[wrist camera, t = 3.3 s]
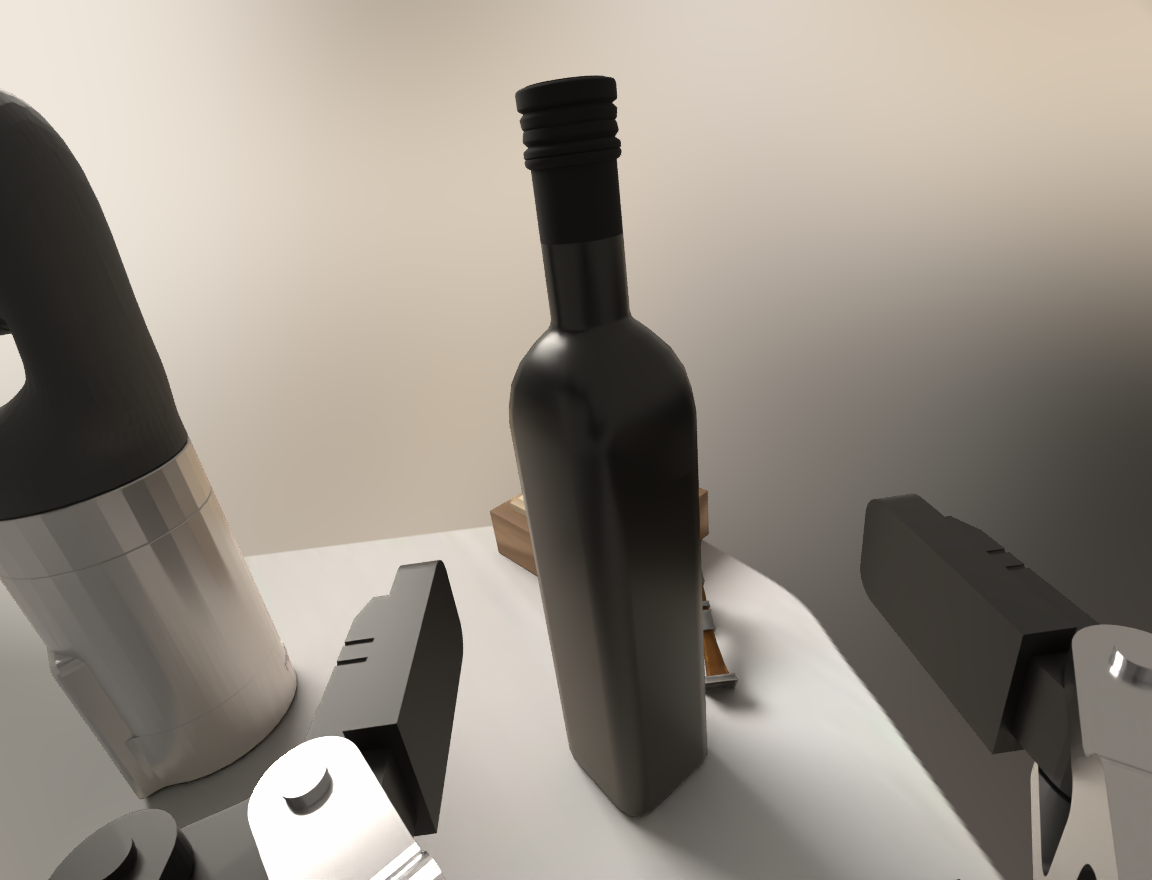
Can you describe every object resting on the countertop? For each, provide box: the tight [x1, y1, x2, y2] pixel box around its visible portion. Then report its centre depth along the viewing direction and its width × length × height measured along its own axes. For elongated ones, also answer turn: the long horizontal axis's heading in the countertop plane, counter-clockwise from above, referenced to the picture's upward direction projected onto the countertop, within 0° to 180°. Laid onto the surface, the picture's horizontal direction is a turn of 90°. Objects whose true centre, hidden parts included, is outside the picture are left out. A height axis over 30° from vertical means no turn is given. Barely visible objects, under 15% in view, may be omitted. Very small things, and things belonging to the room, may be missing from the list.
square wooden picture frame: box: [490, 488, 709, 576], centre depth 46 cm, size 12×12×5 cm
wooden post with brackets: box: [701, 570, 738, 689], centre depth 36 cm, size 2×8×4 cm, turn 2°
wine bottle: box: [509, 76, 707, 816], centre depth 24 cm, size 6×6×30 cm
